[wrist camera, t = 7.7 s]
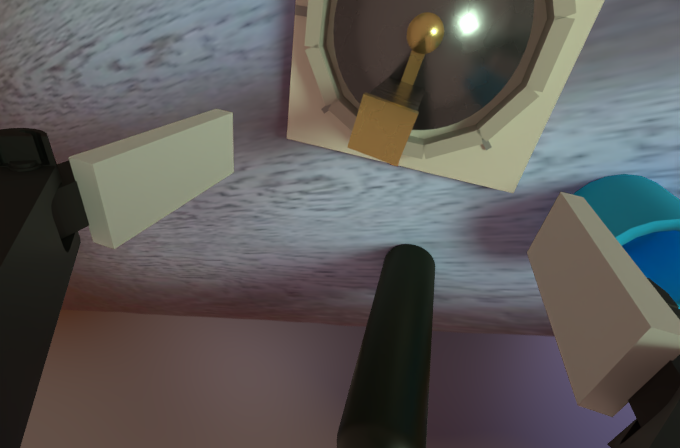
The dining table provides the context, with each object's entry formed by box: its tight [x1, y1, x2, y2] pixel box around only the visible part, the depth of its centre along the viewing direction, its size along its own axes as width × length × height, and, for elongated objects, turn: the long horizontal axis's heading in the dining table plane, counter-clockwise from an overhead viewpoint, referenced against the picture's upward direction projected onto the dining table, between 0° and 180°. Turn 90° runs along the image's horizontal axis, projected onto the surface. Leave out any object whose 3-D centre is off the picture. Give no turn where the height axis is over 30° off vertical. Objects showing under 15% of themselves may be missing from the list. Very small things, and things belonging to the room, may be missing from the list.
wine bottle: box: [337, 244, 435, 448], centre depth 26 cm, size 6×6×30 cm
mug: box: [573, 174, 680, 309], centre depth 27 cm, size 12×8×8 cm
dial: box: [333, 0, 534, 166], centre depth 21 cm, size 14×14×11 cm
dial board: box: [287, 0, 605, 193], centre depth 26 cm, size 22×22×4 cm
